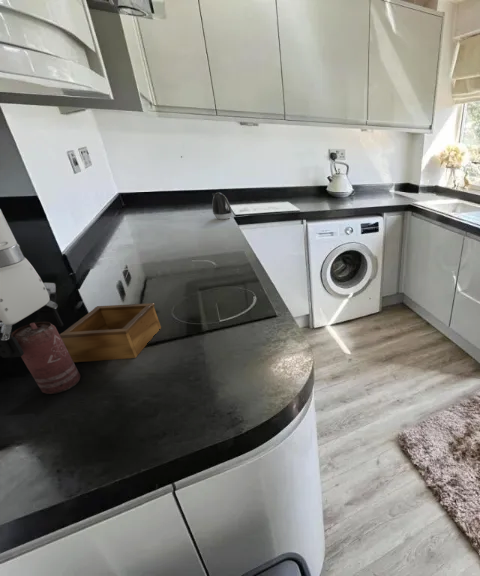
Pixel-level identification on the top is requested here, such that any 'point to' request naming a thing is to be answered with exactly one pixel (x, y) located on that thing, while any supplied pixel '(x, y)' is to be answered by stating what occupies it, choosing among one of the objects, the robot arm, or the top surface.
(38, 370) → the can
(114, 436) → the top surface
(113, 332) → the wooden open box
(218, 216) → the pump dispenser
